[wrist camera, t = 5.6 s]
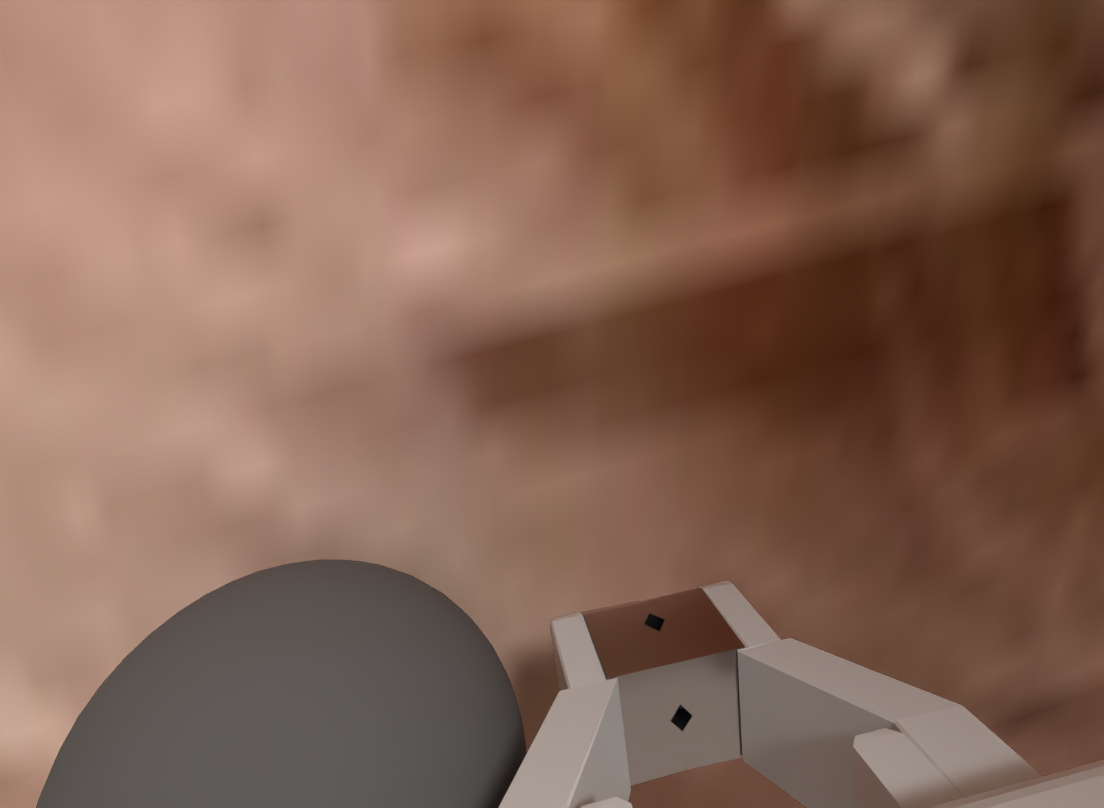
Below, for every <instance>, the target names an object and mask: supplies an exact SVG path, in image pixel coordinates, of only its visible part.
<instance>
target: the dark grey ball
mask: <svg viewBox="0 0 1104 808" xmlns="http://www.w3.org/2000/svg"><path fill="white" fill-rule="evenodd" d="M525 756H526V745H525V736H524V728H523V724H522V719H521V714H520V711H519V707H518V704H517V700H516V697H515V693H514V691H513V688H512V685H511V682H510V680H509V677H508V675H507V673H506V671H505V669H504V667H503V665H502V663H501V661H500V659H499V657H498V655H497V653H496V652H495V650H494V648H493V646H492V645H491V643H490V642H489V641H488V639H487V638H486V637H485V635H484V634H483V633H482V631H481V630H480V629H479V627H478V626H477V625H476V624H475V623H474V621H473V620H472V619H471V618H470V617H469V616H468V615H467V614H466V613H465V612H464V611H463V610H462V609H461V608H460V607H458V606H457V605H456V604H455V603H454V602H453V601H451V600H450V599H449V598H448V597H447V596H445V595H444V594H443V593H441V592H440V591H438V590H436V589H435V588H433V587H431V586H429V585H428V584H426V583H424V582H422V581H421V580H419V579H417V578H415V577H413V576H411V575H408V574H405V573H402V572H399V571H397V570H394V569H391V568H388V567H385V566H381V565H378V564H372V563H366V562H360V561H351V560H313V561H305V562H298V563H291V564H286V565H281V566H277V567H273V568H269V569H265V570H262V571H258V572H255V573H253V574H250V575H247V576H245V577H242V578H240V579H237V580H234V581H232V582H230V583H228V584H226V585H224V586H222V587H220V588H218V589H216V590H214V591H212V592H210V593H208V594H206V595H204V596H203V597H201V598H200V599H198V600H197V601H195V602H193V603H192V604H190V605H189V606H187V607H186V608H184V609H182V610H181V611H179V612H178V613H176V614H175V615H174V616H173V617H171V618H170V619H169V620H167V621H166V622H165V623H164V624H162V625H161V626H160V627H158V628H157V629H156V630H155V631H153V632H152V633H151V634H150V635H149V636H147V637H146V638H145V639H144V640H143V641H142V642H141V643H140V644H139V645H138V646H137V647H136V648H135V649H134V650H133V651H132V652H131V653H130V654H128V655H127V656H126V657H125V658H124V659H123V660H122V662H121V663H120V664H119V665H118V666H117V667H116V668H115V670H114V671H113V672H112V673H111V674H110V675H109V677H108V678H107V679H106V680H105V681H104V682H103V683H102V685H101V686H100V687H99V688H98V690H97V691H96V693H95V694H94V695H93V697H92V698H91V700H90V701H89V702H88V704H87V705H86V707H85V708H84V709H83V711H82V712H81V714H80V715H79V716H78V718H77V720H76V722H75V723H74V725H73V727H72V729H71V731H70V732H69V734H68V736H67V738H66V739H65V741H64V743H63V745H62V747H61V748H60V750H59V753H58V755H57V757H56V759H55V762H54V764H53V766H52V769H51V771H50V773H49V776H48V778H47V780H46V783H45V785H44V788H43V790H42V792H41V795H40V797H39V800H38V803H37V806H36V808H499V806H500V804H501V802H502V800H503V798H504V796H505V794H506V792H507V790H508V788H509V786H510V784H511V783H512V781H513V779H514V777H515V775H516V773H517V771H518V769H519V767H520V765H521V763H522V761H523V759H524V758H525Z"/></svg>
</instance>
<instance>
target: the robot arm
mask: <svg viewBox="0 0 1104 808" xmlns="http://www.w3.org/2000/svg"><path fill="white" fill-rule="evenodd" d="M550 630H551V637H552V644H553V651H554V658H555V665H556V672H557V679H558V685H559V690H560V691H559V692H558V694H557V696H556V698H555V700H554V702H553V704H552V706H551V707H550V709H549V711H548V713H547V715H546V717H545V719H544V721H543V723H542V725H541V727H540V729H539V731H538V732H537V734H536V736H535V738H534V740H533V742H532V744H531V746H530V748H529V750H528V752H527V754H526V756H525V758H524V759H523V761H522V763H521V765H520V767H519V769H518V771H517V773H516V775H515V777H514V779H513V781H512V783H511V784H510V786H509V788H508V790H507V792H506V794H505V796H504V798H503V800H502V802H501V804H500V806H499V808H633V807H632V804H631V803H629V802H628V800H629V796H630V792H631V786H632V785H636V784H639V783H642V782H646V781H649V780H653V779H656V778H660V777H663V776H667V775H670V774H674V773H677V772H681V771H684V770H688V769H693V768H697V767H702V766H706V765H711V764H715V763H720V762H724V761H729V760H733V759H738V758H743V761H744V762H745V763H747V764H748V765H749V766H751V767H752V768H753V769H755V770H756V771H757V772H759V773H760V774H761V775H763V776H764V777H766V778H767V779H768V780H770V781H771V782H772V783H774V784H775V785H776V786H778V787H779V788H780V789H782V790H783V791H784V792H786V793H787V794H789V795H790V796H791V797H793V798H794V799H795V800H797V801H798V802H799V803H801V804H802V805H803V806H805V807H806V808H1104V759H1102V760H1099V761H1095V762H1092V763H1088V764H1085V765H1081V766H1077V767H1074V768H1070V769H1067V770H1063V771H1059V772H1056V773H1052V774H1049V775H1045V776H1042V775H1041V774H1040V773H1038V772H1037V771H1036V770H1035V769H1034V768H1033V767H1032V766H1031V765H1029V764H1028V763H1027V762H1026V761H1025V760H1024V759H1023V758H1021V757H1020V756H1019V755H1018V754H1017V753H1016V752H1015V751H1014V750H1012V749H1011V748H1010V747H1009V746H1008V745H1007V744H1006V743H1004V742H1003V741H1002V740H1001V739H1000V738H999V737H998V736H997V735H995V734H994V733H993V732H992V731H991V730H990V729H989V728H988V727H986V726H985V725H984V724H983V723H982V722H981V721H980V720H978V719H977V718H976V717H975V716H974V715H973V714H972V713H971V712H969V711H968V710H967V709H966V708H965V707H964V706H962V705H960V704H957V703H955V702H952V701H949V700H947V699H944V698H942V697H939V696H937V695H934V694H932V693H929V692H927V691H924V690H922V689H919V688H916V687H914V686H911V685H909V684H906V683H904V682H901V681H899V680H896V679H894V678H891V677H888V676H886V675H883V674H881V673H878V672H876V671H873V670H871V669H868V668H866V667H863V666H861V665H858V664H855V663H853V662H850V661H848V660H845V659H843V658H840V657H838V656H835V655H833V654H830V653H828V652H825V651H822V650H820V649H817V648H815V647H812V646H810V645H807V644H805V643H802V642H800V641H797V640H794V639H792V638H787V639H783V640H781V639H780V638H779V637H778V635H777V634H776V633H775V632H774V631H773V630H772V629H771V627H770V626H769V625H768V624H767V623H766V622H765V620H764V619H763V618H762V617H761V616H760V615H759V614H758V612H757V611H756V610H755V609H754V608H753V607H752V606H751V604H750V603H749V602H748V601H747V600H746V599H745V598H744V596H743V595H742V594H741V593H740V592H739V591H738V589H737V588H736V587H735V586H734V585H733V584H732V583H731V582H729V581H722V582H718V583H714V584H710V585H706V586H702V587H698V588H697V589H692V590H688V591H684V592H679V593H675V594H670V595H666V596H662V597H657V598H653V599H649V600H644V601H636V602H630V603H625V604H620V605H615V606H610V607H604V608H599V609H594V610H589V611H583V612H581V613H580V612H578V613H573V614H569V615H564V616H559V617H555V618H550Z"/></svg>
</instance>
